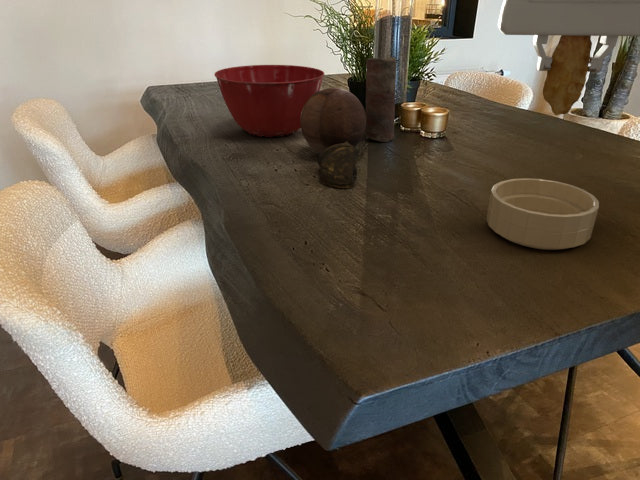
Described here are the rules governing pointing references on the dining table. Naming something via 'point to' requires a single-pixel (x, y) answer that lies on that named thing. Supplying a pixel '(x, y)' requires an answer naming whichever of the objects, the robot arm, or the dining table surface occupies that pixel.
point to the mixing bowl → (268, 96)
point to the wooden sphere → (332, 119)
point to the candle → (380, 98)
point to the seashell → (338, 165)
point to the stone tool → (567, 73)
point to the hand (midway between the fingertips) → (567, 70)
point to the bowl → (542, 213)
